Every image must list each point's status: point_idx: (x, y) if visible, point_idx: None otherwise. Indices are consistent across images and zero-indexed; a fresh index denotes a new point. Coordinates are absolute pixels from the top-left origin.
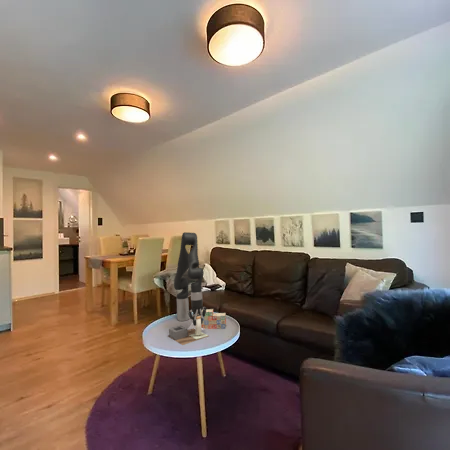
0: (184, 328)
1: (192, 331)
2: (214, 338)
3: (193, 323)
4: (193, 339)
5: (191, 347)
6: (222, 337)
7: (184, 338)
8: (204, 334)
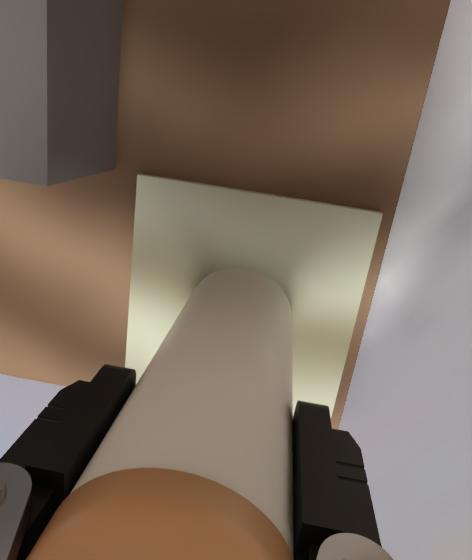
0: (3, 109)
1: (320, 40)
2: (368, 464)
3: (60, 412)
4: (105, 339)
5: (12, 415)
6: (452, 521)
7: (28, 199)
8: (321, 361)
